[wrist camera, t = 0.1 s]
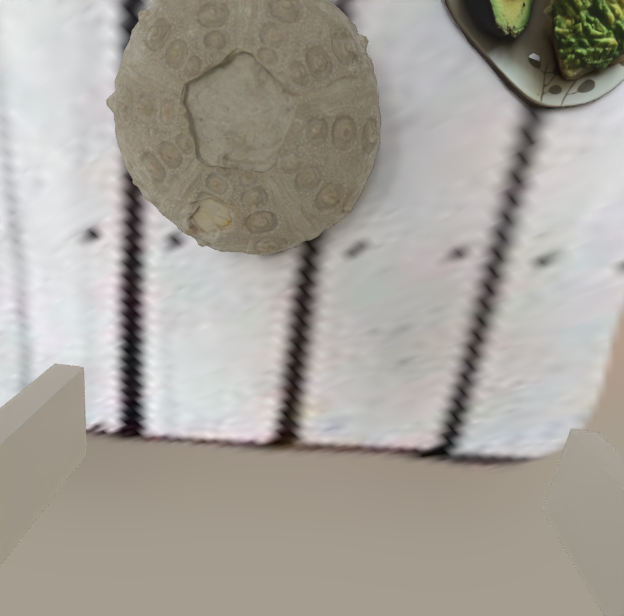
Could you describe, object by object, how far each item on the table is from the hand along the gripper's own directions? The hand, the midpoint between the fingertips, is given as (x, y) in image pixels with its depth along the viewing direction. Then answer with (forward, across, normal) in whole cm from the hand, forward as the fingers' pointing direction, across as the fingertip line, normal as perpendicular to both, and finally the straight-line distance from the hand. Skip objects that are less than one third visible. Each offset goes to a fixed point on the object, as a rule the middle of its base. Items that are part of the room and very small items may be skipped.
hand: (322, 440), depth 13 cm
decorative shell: (+28, -6, +8) cm, 30 cm away
